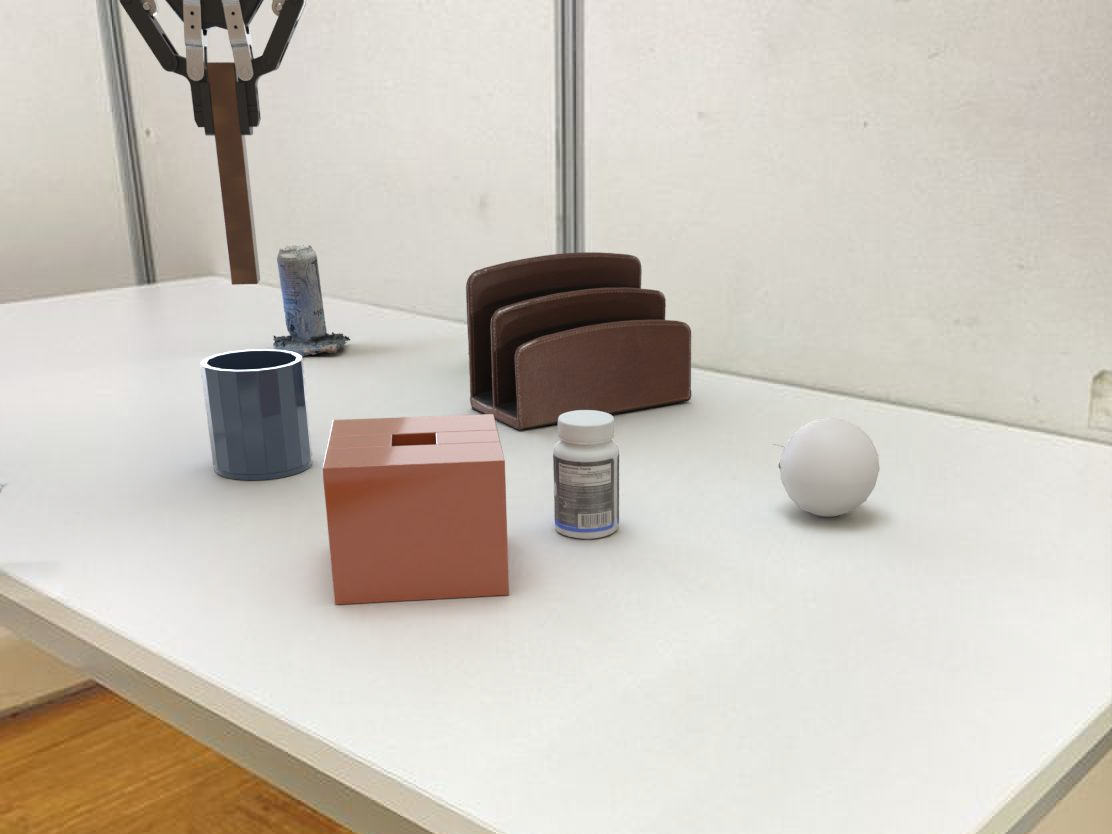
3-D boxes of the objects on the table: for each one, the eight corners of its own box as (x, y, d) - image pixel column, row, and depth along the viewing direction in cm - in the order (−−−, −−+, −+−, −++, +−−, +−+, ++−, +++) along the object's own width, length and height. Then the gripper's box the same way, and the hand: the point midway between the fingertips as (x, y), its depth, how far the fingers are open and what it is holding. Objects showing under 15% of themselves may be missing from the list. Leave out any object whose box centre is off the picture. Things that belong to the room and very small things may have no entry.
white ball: (895, 522, 93) (905, 426, 90) (808, 536, 90) (816, 437, 87) (823, 483, 101) (830, 394, 98) (742, 494, 99) (746, 403, 96)
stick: (231, 284, 98) (205, 62, 92) (234, 280, 100) (209, 62, 94) (257, 284, 98) (233, 62, 92) (260, 280, 100) (237, 62, 94)
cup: (208, 482, 102) (193, 372, 98) (221, 453, 109) (208, 350, 105) (308, 478, 103) (298, 369, 99) (315, 450, 110) (305, 347, 106)
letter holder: (468, 408, 123) (462, 261, 117) (636, 382, 133) (637, 244, 127) (518, 432, 115) (514, 275, 109) (692, 402, 125) (696, 257, 119)
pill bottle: (570, 514, 95) (569, 405, 91) (628, 522, 93) (629, 411, 90) (543, 534, 91) (541, 421, 87) (604, 544, 89) (604, 428, 86)
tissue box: (334, 604, 79) (322, 468, 75) (343, 543, 89) (332, 419, 85) (509, 595, 80) (504, 460, 77) (498, 535, 90) (493, 413, 87)
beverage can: (273, 360, 142) (261, 251, 138) (273, 346, 149) (262, 242, 144) (354, 356, 144) (345, 248, 140) (350, 342, 151) (342, 239, 146)
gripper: (305, -120, 92) (325, 131, 99) (109, -124, 90) (144, 132, 97) (296, -134, 85) (319, 137, 92) (85, -138, 84) (124, 138, 91)
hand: (229, 133), depth 95 cm, fingers closed on stick, 2 cm apart
